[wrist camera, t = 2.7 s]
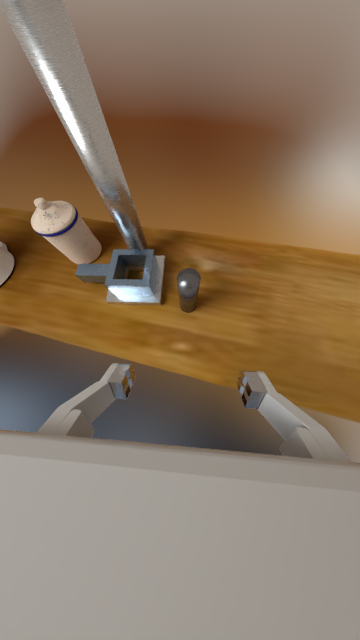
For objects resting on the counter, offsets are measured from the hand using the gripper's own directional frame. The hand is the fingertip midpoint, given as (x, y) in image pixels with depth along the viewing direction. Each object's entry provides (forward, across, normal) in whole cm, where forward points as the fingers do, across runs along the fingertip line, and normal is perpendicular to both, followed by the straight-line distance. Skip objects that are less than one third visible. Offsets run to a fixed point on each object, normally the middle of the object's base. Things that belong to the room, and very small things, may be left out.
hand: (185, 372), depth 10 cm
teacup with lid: (+30, +29, -8) cm, 43 cm away
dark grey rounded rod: (+20, 0, +2) cm, 20 cm away
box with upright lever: (+25, +15, -3) cm, 29 cm away
